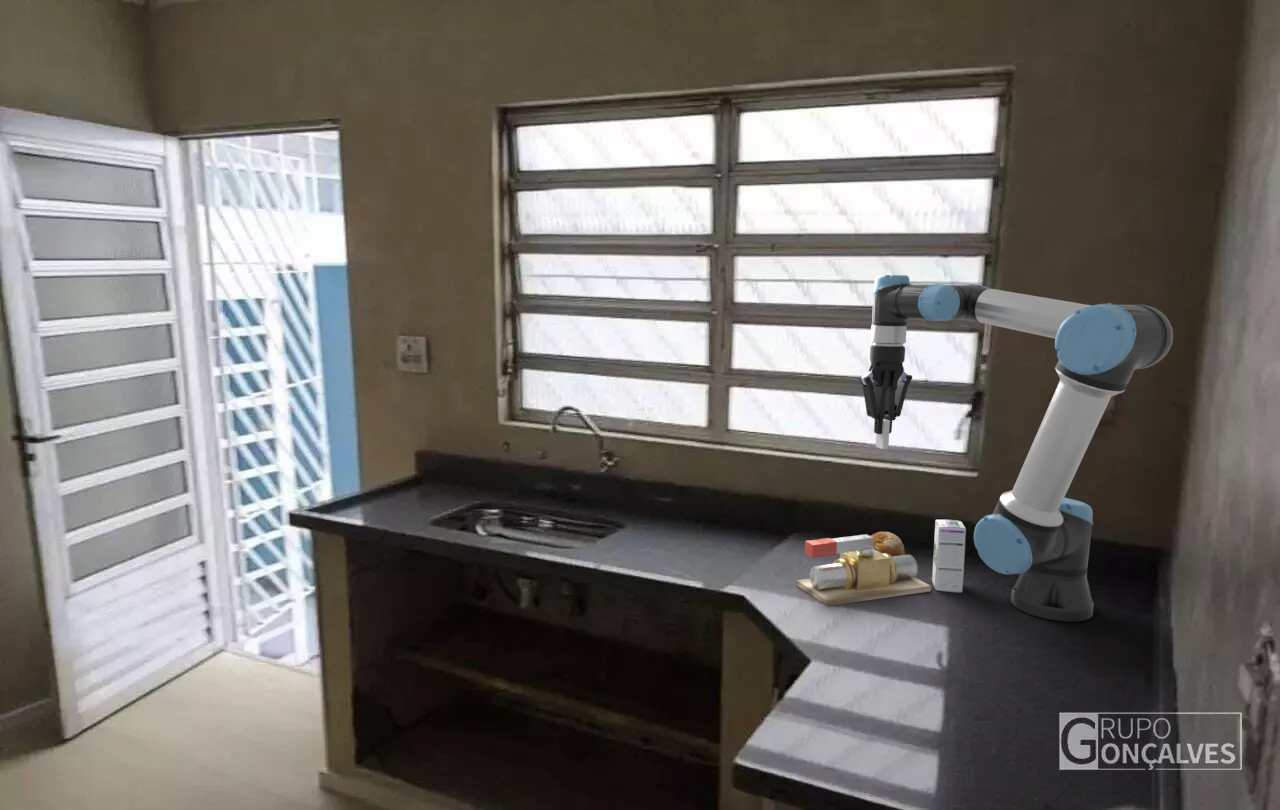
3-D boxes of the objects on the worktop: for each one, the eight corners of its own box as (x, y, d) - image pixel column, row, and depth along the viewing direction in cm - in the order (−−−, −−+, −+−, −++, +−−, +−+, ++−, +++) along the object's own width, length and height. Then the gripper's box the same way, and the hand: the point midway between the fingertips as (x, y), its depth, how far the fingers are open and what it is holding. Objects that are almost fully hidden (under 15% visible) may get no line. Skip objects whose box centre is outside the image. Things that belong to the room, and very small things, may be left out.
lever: (866, 550, 180) (867, 532, 179) (877, 555, 177) (878, 537, 176) (803, 558, 174) (804, 540, 173) (813, 564, 170) (813, 545, 170)
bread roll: (901, 579, 195) (918, 550, 194) (863, 560, 194) (879, 531, 193) (889, 564, 205) (905, 536, 204) (853, 546, 204) (868, 518, 203)
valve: (899, 575, 186) (901, 544, 185) (919, 586, 179) (921, 554, 178) (806, 587, 178) (808, 555, 177) (824, 599, 171) (826, 565, 170)
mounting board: (930, 591, 178) (931, 585, 177) (826, 606, 169) (827, 600, 169) (895, 572, 189) (896, 567, 188) (796, 585, 180) (796, 580, 180)
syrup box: (963, 593, 177) (968, 527, 175) (934, 590, 178) (938, 525, 176) (958, 583, 182) (963, 520, 180) (930, 581, 184) (934, 518, 181)
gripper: (901, 342, 190) (895, 442, 194) (853, 343, 186) (848, 446, 189) (922, 345, 183) (916, 449, 187) (873, 346, 179) (867, 452, 182)
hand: (881, 447), depth 188 cm, fingers closed
